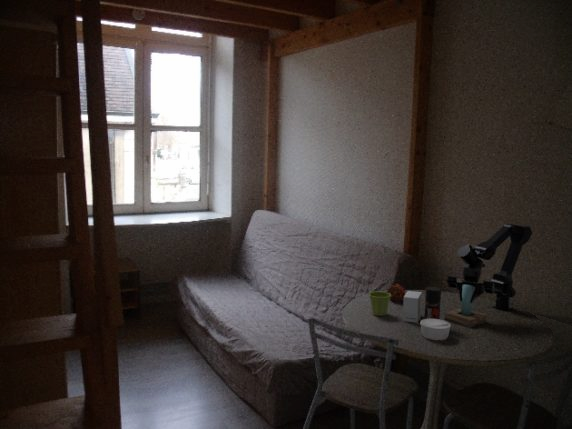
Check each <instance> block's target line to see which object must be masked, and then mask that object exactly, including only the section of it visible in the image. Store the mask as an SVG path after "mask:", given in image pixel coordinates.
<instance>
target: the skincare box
mask: <svg viewBox="0 0 572 429" xmlns="http://www.w3.org/2000/svg"><path fill="white" fill-rule="evenodd" d="M402 301H403V304H402V305H403V306H402V307H403V308H402V310H403V312H402V321H403V322H408V323H416V324H418V323H420V322H419V321H421V318H422V311H423V309H422V306H423V302H422V301H423V292H422V291H413V290H407V292H405V296H404V299H403V300H402Z"/></svg>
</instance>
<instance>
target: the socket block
mask: <svg viewBox="0 0 572 429" xmlns="http://www.w3.org/2000/svg"><path fill="white" fill-rule="evenodd" d="M444 321H446V322H451V323H454V324H458V325H460V326H464V327H467V328H473V327H475V326H478V325H479V326H480V325H482V324H485V323H487V322H488V315H487V314H486V313H482V312H478V311H474V310H471V316H469V317H467V316H464V315H461V307H460V308H456V309H452V310H450V311H445V312H444Z"/></svg>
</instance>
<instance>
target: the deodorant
mask: <svg viewBox="0 0 572 429" xmlns="http://www.w3.org/2000/svg"><path fill="white" fill-rule="evenodd" d="M441 297H442V289H441V288H440V287H436V286H427V287H425V297H424V298H425V300H424V302H425V303H424V319H439V320H441V317H440V316H441V302H442V301H441V299H442V298H441ZM424 319H423V320H424Z"/></svg>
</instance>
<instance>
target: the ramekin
mask: <svg viewBox="0 0 572 429" xmlns="http://www.w3.org/2000/svg"><path fill="white" fill-rule="evenodd" d="M419 323H420V324H419V325H420V329H421V335H422V337H424V338H425V339H427V340H430V339H431V340H432V341H438V340H440V341H445V340H447V339H448V337H449V333H450V331H451V323H449V321H447V320H445V319H440V320H439V319H420V322H419ZM431 340H430V341H431Z"/></svg>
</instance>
